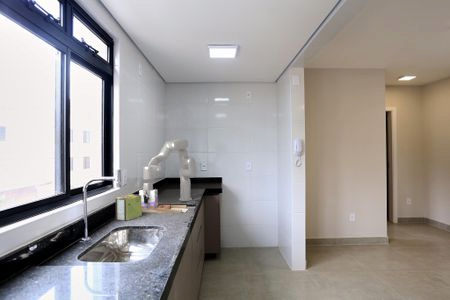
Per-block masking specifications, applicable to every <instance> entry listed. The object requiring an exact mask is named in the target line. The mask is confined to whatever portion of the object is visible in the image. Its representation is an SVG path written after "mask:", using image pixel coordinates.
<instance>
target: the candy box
mask: <svg viewBox="0 0 450 300" xmlns="http://www.w3.org/2000/svg"><path fill="white" fill-rule="evenodd" d="M146 193H147V192H146ZM138 195H141V203H142V208H144V209H157V208H158V205H159V203H158V189H153V190H150V193H149V196H148V203H147V204H144V197H143V189H140V190H139V191H138ZM146 197H147V196H146Z"/></svg>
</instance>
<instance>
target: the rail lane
mask: <svg viewBox="0 0 450 300" xmlns="http://www.w3.org/2000/svg"><path fill="white" fill-rule="evenodd" d="M161 205H162V204H158V207H159V206H161ZM169 205H170V209H144V208H142V213H160V214H161V213H163V214H168V213H169V214H182V213H183V212H182V209H171V208H186V209H188V208H187V205H186V204H185V205H183V204H181V205H179V204H169Z"/></svg>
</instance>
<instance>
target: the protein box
mask: <svg viewBox="0 0 450 300" xmlns="http://www.w3.org/2000/svg"><path fill="white" fill-rule="evenodd" d="M142 214H143V212H142V203H141V195H139V194H128V195H127V194H125V195H122V196H119V197H115V220H117V221H123V220H125V221H126V220H128V221H130V220H129V219H131V220H134V219H136V218H139V217H142V216H143V215H142ZM126 222H127V221H126Z"/></svg>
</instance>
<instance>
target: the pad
mask: <svg viewBox="0 0 450 300" xmlns="http://www.w3.org/2000/svg"><path fill="white" fill-rule="evenodd" d="M170 209H182V213H184V214H185V213H186V212H188V211H189V208H170Z"/></svg>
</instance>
